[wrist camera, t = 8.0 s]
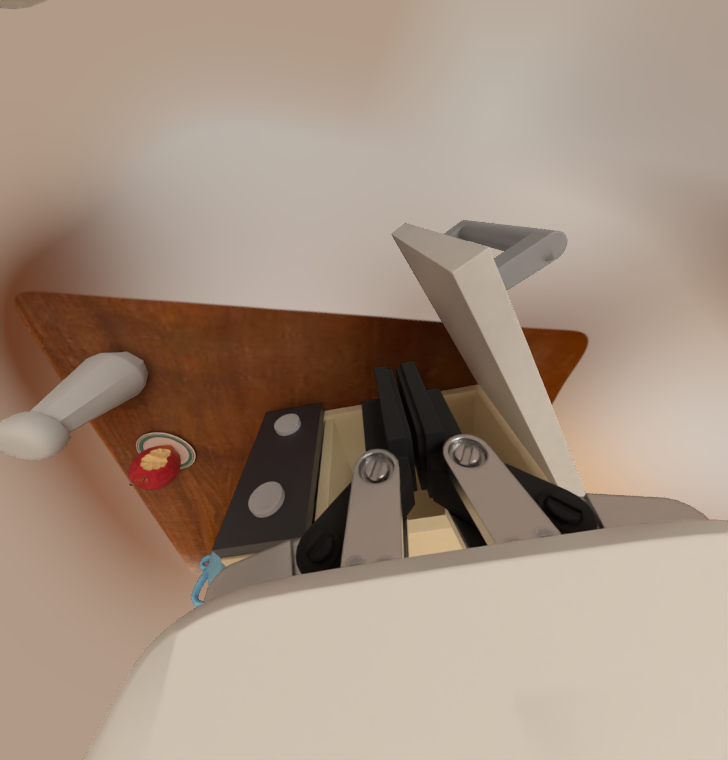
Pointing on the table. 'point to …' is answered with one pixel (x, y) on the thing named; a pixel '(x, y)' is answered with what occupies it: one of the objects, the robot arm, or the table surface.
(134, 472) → the apple
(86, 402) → the salt shaker
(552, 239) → the microwave door
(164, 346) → the table surface
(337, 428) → the microwave
